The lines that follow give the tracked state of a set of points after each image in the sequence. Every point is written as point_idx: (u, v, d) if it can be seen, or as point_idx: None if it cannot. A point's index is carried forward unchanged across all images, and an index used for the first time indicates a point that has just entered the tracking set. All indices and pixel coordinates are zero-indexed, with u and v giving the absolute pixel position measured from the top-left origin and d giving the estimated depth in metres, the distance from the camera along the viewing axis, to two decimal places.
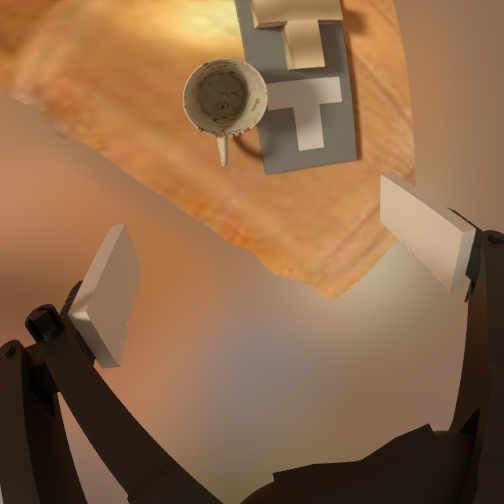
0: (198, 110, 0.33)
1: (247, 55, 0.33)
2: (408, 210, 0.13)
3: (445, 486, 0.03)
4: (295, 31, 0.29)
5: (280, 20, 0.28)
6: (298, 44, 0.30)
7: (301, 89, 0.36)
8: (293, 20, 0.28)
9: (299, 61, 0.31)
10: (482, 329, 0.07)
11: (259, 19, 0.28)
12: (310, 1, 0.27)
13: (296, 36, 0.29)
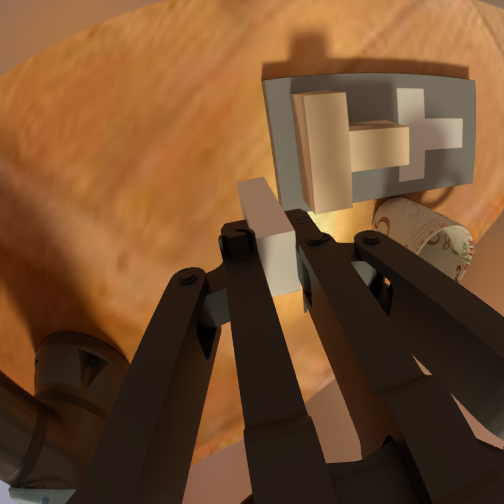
0: None
1: (366, 199, 0.31)
2: None
3: None
4: (365, 162, 0.25)
5: (350, 181, 0.26)
6: (381, 159, 0.25)
7: (409, 138, 0.28)
8: (351, 164, 0.25)
9: (401, 159, 0.25)
10: (345, 348, 0.07)
11: (347, 207, 0.27)
12: (321, 139, 0.24)
13: (372, 161, 0.25)
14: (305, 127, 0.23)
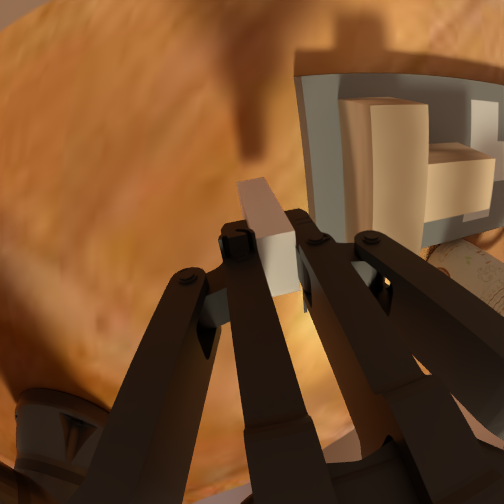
0: None
1: (423, 246, 0.22)
2: None
3: None
4: (442, 209, 0.16)
5: (420, 235, 0.17)
6: (461, 204, 0.16)
7: None
8: (424, 212, 0.16)
9: (482, 203, 0.16)
10: (345, 348, 0.07)
11: None
12: (391, 176, 0.15)
13: (450, 207, 0.16)
14: (368, 156, 0.15)
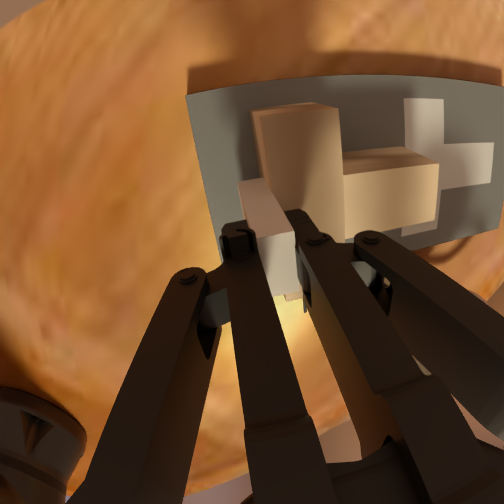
0: None
1: None
2: None
3: None
4: (369, 223, 0.16)
5: None
6: (394, 217, 0.16)
7: None
8: (344, 228, 0.16)
9: (424, 214, 0.16)
10: (345, 348, 0.07)
11: None
12: (295, 191, 0.15)
13: (379, 221, 0.16)
14: (267, 171, 0.14)
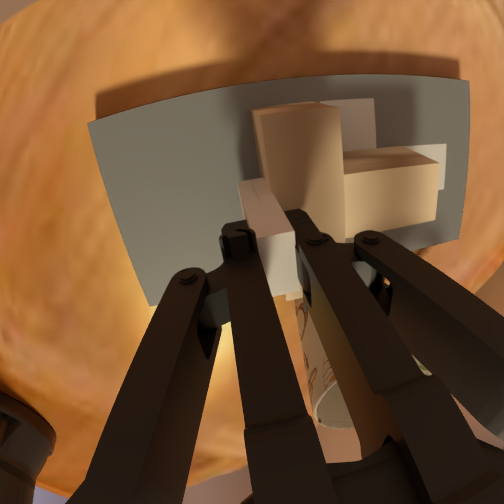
0: None
1: None
2: None
3: None
4: (369, 223, 0.16)
5: None
6: (395, 216, 0.16)
7: None
8: (345, 227, 0.16)
9: (425, 214, 0.16)
10: (345, 348, 0.07)
11: None
12: (295, 190, 0.15)
13: (379, 220, 0.16)
14: (268, 170, 0.14)
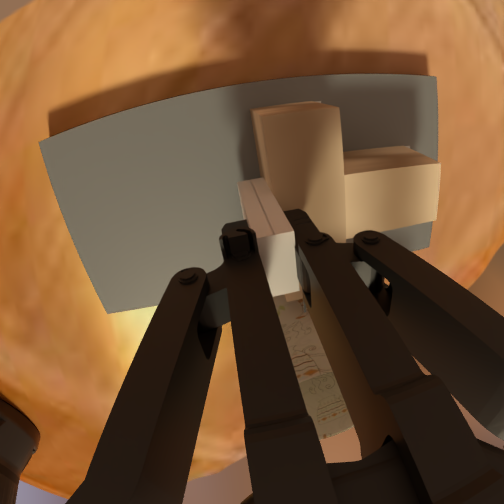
0: None
1: None
2: None
3: None
4: (370, 223, 0.16)
5: None
6: (395, 216, 0.16)
7: None
8: (345, 228, 0.16)
9: (426, 214, 0.16)
10: (344, 348, 0.07)
11: None
12: (295, 191, 0.14)
13: (380, 221, 0.16)
14: (268, 170, 0.14)
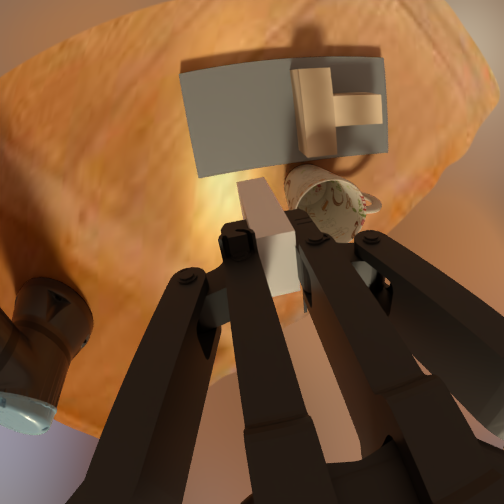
0: (326, 219, 0.39)
1: (271, 164, 0.38)
2: None
3: None
4: (346, 120, 0.32)
5: (334, 133, 0.33)
6: (359, 118, 0.32)
7: None
8: (335, 121, 0.32)
9: (376, 119, 0.32)
10: (345, 348, 0.07)
11: (333, 153, 0.34)
12: (312, 101, 0.31)
13: (351, 119, 0.32)
14: (300, 92, 0.31)
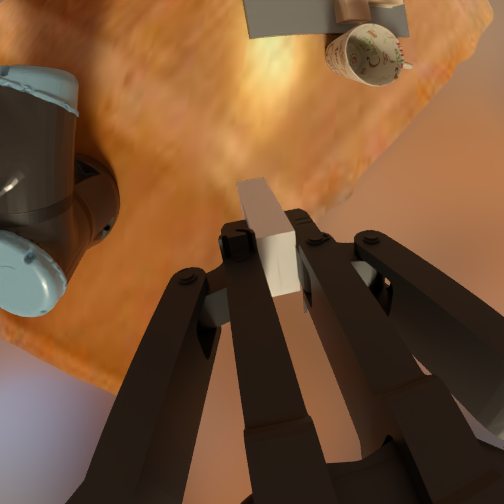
0: (366, 76, 0.37)
1: (314, 32, 0.35)
2: None
3: None
4: None
5: (367, 4, 0.30)
6: None
7: None
8: None
9: (398, 0, 0.30)
10: (345, 348, 0.07)
11: (368, 19, 0.31)
12: None
13: None
14: None
